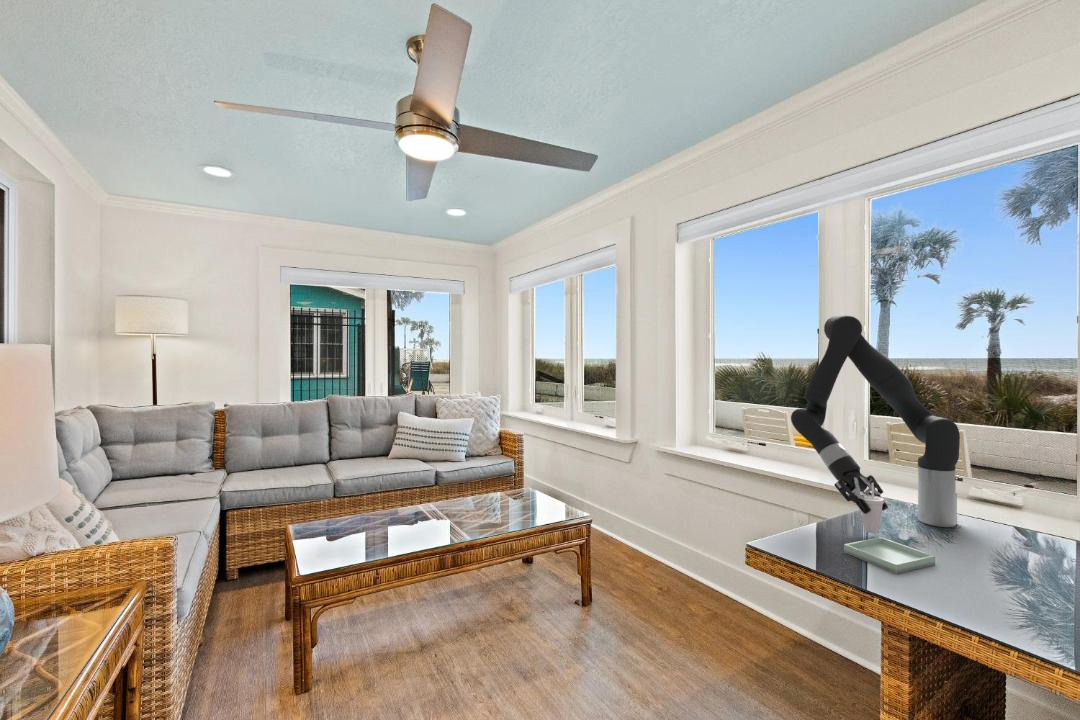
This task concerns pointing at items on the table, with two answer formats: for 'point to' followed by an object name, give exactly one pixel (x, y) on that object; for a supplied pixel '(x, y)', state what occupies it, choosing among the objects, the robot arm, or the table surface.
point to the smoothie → (872, 512)
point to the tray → (889, 555)
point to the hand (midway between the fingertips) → (876, 510)
